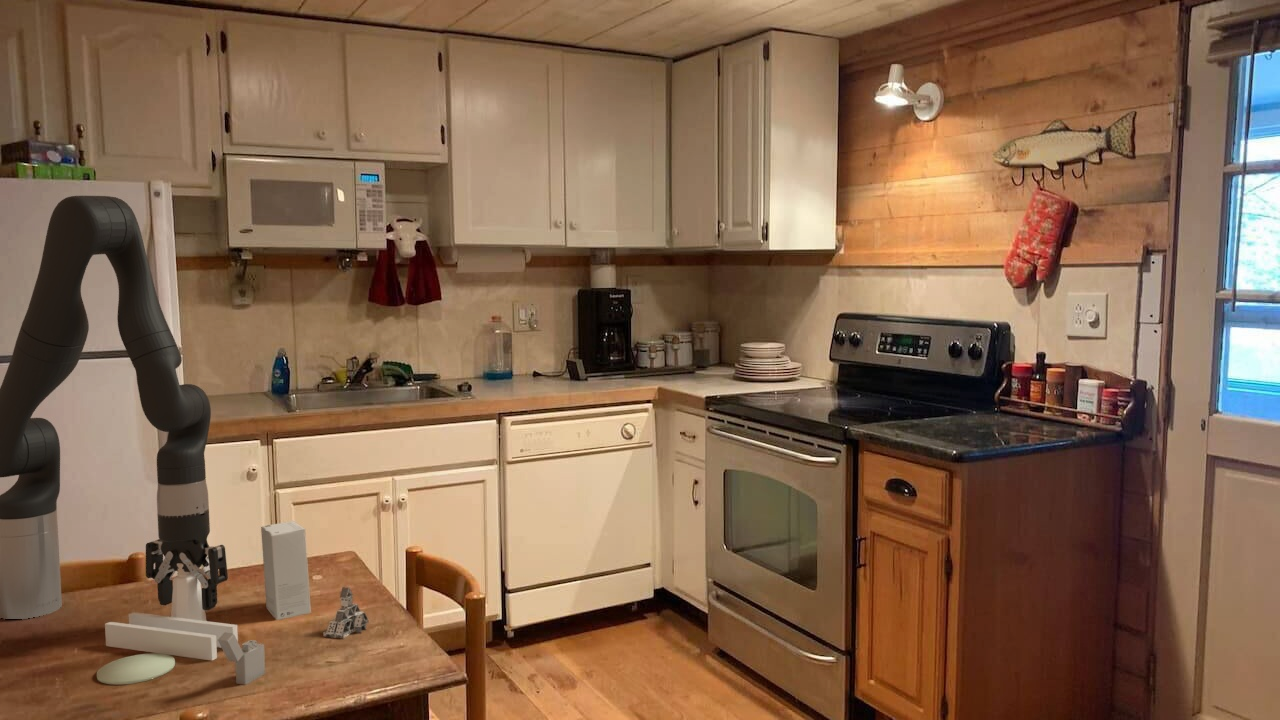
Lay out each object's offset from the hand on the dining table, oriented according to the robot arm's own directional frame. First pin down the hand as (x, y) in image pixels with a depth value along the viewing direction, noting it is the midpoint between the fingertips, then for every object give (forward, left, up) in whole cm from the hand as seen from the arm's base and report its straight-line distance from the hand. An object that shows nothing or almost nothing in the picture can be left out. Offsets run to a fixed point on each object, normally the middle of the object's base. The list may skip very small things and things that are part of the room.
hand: (187, 606), depth 153 cm
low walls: (+4, -8, -3) cm, 9 cm away
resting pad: (+6, -16, -3) cm, 18 cm away
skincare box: (+11, +11, -4) cm, 16 cm away
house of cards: (+28, +5, -4) cm, 29 cm away
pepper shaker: (0, 0, -4) cm, 4 cm away
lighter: (+24, -15, -4) cm, 28 cm away
